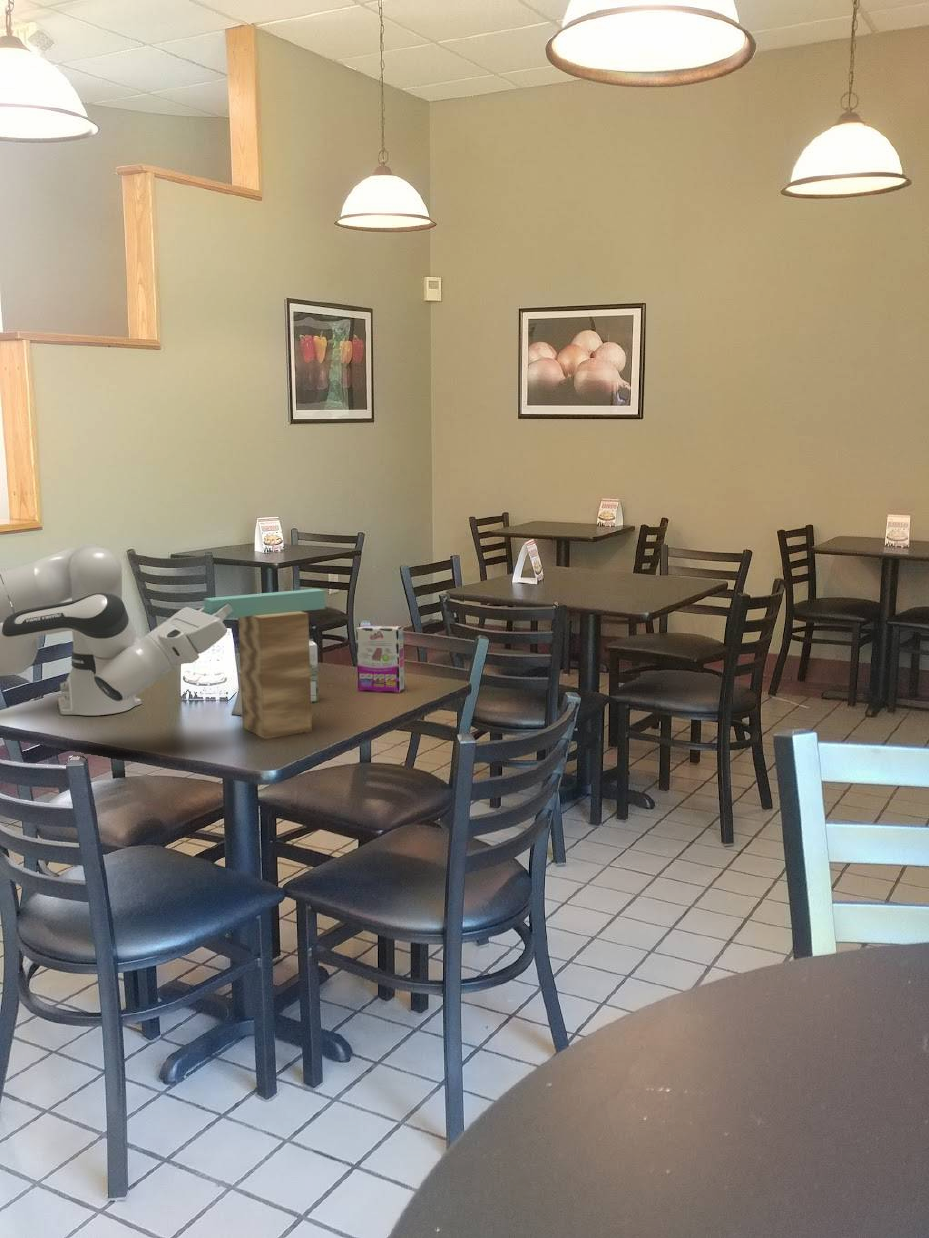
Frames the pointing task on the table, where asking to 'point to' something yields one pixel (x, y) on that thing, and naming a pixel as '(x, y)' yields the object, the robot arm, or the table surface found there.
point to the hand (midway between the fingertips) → (225, 605)
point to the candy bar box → (380, 659)
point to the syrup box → (313, 671)
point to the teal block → (268, 603)
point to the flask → (238, 701)
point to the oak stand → (275, 674)
